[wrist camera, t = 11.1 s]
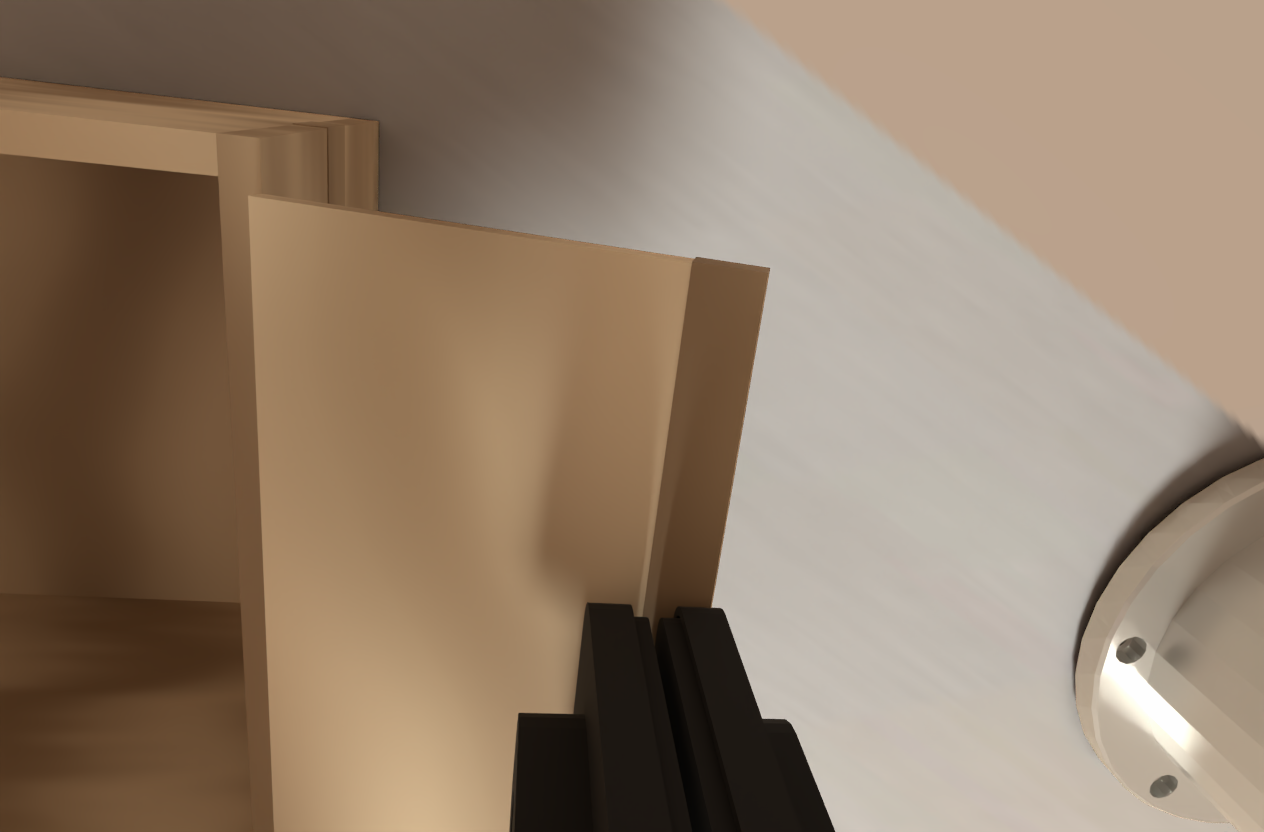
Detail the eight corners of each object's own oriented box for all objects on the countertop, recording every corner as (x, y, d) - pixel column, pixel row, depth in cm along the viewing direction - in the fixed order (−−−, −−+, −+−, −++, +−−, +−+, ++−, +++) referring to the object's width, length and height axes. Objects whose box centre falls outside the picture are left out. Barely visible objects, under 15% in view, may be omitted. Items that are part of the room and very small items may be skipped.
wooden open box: (380, 120, 17) (261, 136, 10) (374, 611, 22) (287, 881, 14) (-216, 50, 16) (-874, 8, 9) (-100, 593, 20) (-476, 884, 13)
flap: (642, 1001, 12) (647, 979, 13) (767, 273, 9) (770, 267, 9) (275, 891, 13) (287, 874, 14) (246, 194, 10) (264, 192, 10)
